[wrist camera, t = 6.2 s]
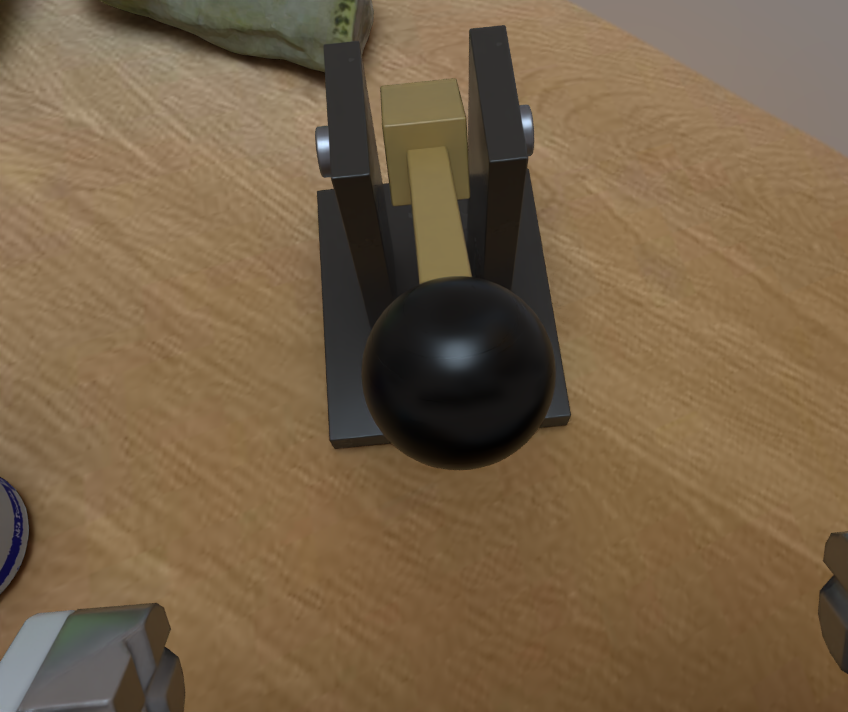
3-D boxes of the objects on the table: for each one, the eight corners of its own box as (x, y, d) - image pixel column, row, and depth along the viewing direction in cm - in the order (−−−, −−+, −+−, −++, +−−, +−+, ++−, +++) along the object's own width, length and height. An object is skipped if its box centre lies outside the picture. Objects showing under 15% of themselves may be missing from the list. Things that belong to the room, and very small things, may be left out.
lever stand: (567, 425, 31) (633, 265, 19) (334, 449, 31) (253, 305, 19) (526, 184, 35) (559, -72, 23) (321, 206, 35) (248, -38, 23)
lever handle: (569, 500, 15) (578, 349, 12) (375, 520, 15) (347, 373, 12) (484, 170, 25) (480, 53, 23) (369, 182, 25) (352, 66, 23)
